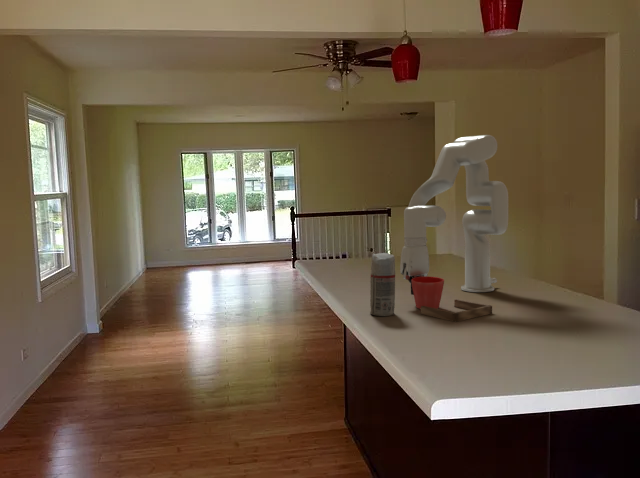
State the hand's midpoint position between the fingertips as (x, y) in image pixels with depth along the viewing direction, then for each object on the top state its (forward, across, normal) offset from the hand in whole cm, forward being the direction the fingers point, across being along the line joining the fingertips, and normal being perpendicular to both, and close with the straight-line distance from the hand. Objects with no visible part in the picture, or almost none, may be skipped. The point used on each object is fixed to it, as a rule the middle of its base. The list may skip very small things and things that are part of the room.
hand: (415, 294), depth 201 cm
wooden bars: (+4, 0, +18) cm, 18 cm away
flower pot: (+4, 0, +6) cm, 7 cm away
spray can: (+4, +18, +3) cm, 19 cm away
